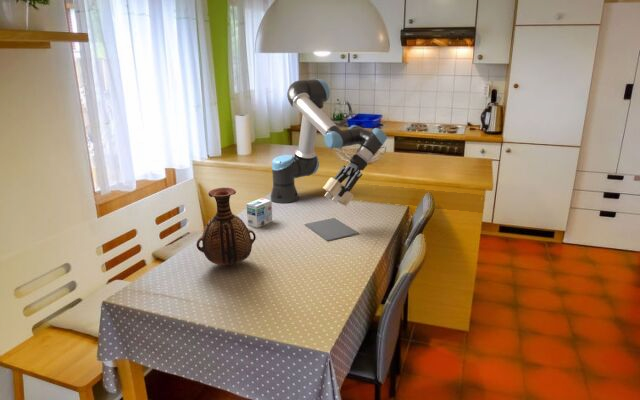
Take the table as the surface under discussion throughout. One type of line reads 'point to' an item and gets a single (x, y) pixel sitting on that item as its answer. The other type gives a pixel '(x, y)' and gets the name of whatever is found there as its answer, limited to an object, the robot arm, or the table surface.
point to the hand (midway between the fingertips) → (330, 199)
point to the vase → (225, 233)
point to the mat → (331, 229)
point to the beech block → (334, 187)
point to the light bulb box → (259, 212)
